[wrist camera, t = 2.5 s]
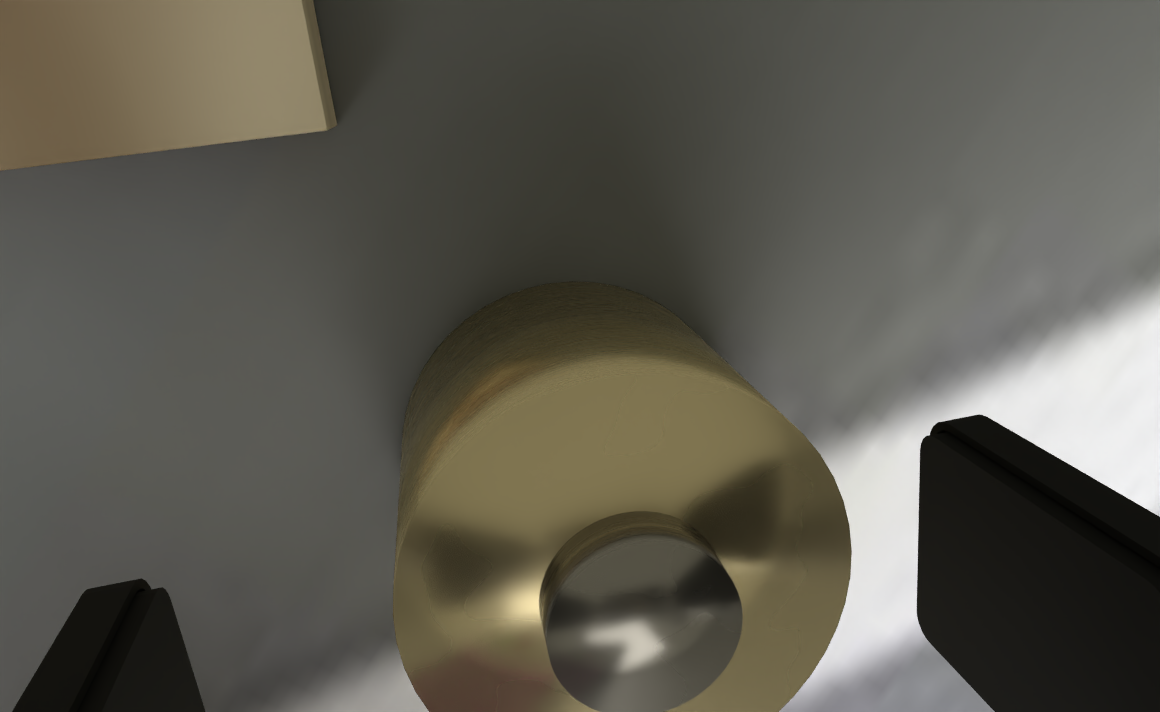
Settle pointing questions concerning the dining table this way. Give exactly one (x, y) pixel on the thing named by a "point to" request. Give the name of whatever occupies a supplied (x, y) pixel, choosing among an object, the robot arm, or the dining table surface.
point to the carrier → (155, 76)
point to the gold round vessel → (607, 519)
